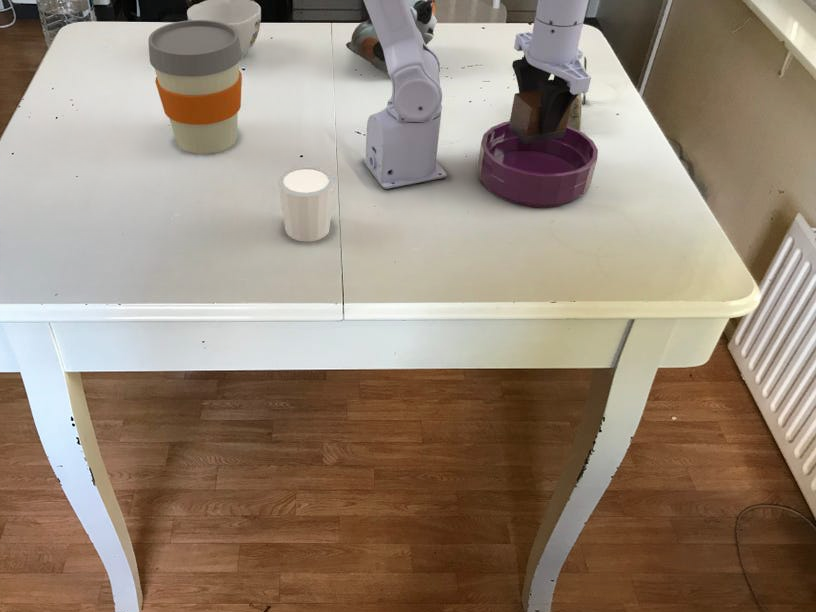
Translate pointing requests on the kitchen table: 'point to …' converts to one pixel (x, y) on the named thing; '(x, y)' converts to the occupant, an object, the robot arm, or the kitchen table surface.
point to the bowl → (536, 167)
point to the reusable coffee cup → (199, 82)
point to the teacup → (231, 18)
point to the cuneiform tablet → (576, 109)
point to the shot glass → (306, 202)
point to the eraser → (532, 118)
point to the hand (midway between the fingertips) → (538, 123)
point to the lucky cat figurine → (369, 43)
